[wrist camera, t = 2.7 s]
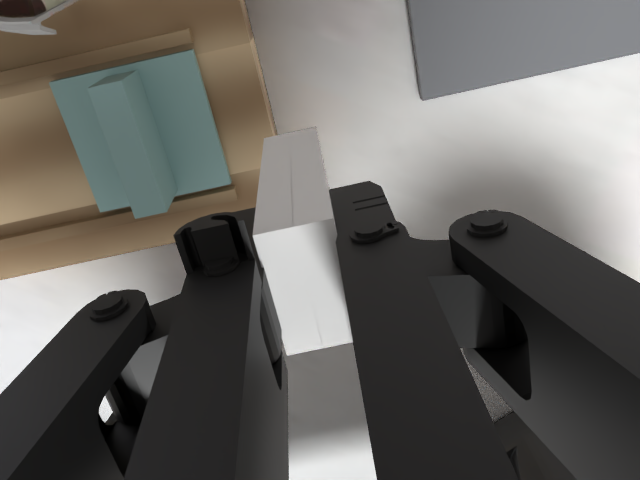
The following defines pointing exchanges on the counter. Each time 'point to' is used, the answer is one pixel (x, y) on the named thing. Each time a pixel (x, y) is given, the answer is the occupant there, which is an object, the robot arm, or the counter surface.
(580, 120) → the counter surface
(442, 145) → the counter surface
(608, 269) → the robot arm
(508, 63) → the mat
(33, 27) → the food container
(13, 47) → the wooden compartment tray
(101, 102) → the cover
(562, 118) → the counter surface
